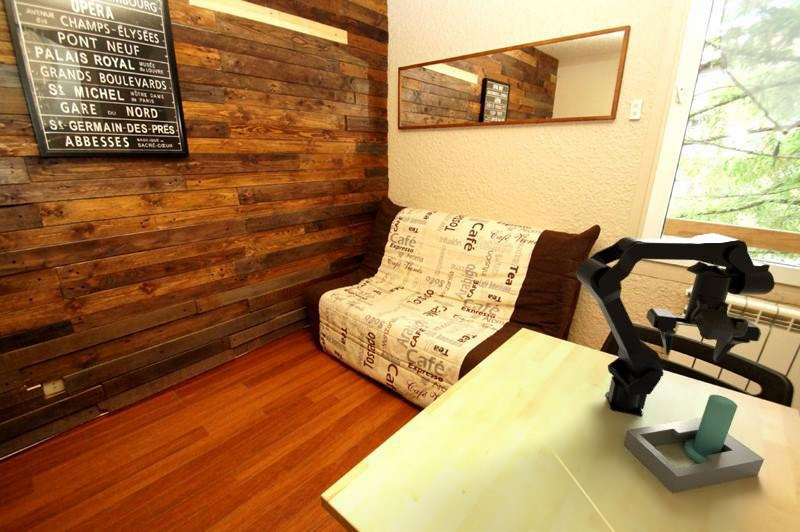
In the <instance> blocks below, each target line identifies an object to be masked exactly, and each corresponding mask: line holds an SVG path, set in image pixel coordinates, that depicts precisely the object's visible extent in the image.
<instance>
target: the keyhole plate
mask: <svg viewBox="0 0 800 532" xmlns="http://www.w3.org/2000/svg"><path fill="white" fill-rule="evenodd" d="M701 419H702V416H701V417H697V418H689V419H685V420H684V419H683V420H678V421H673V422H667V423H660V424H653V425H649V426H643V427H637V428H631V429H627V430H626V434H625V438H624V442H623V446H624V447H625V448H626V449H628V451H629V452H630V453H631V454H632V455H633V456H634V457H636V458H637V459H638V460H639V462H640V463H641V464H643V466H645V467H646V468H647V470H648V471H649V472H651V474H652V475H654V476H655V478H657V480H659V481H660V482H661V483H662V485H664V486H665V487H666V488H667V489H668V491H670V492H671V493H672V494H675V493H679V492H684V491H688V490H689V491H690V490H693V489H699V488H703V487H707V486H712V485H716V484H718V485H719V484H722V483H727V482H730V481H731V482H732V481H735V480H741V479H745V478H749V477H750V478H751V477H756V476H758V475H759V474H760V471H761V468H762V466H763V463H764V461H765V458H763V457H762V456H761V455H759V454H757V452H755V451H754V450H752V449H751V448H750V447H748V446H746V445H745V444H744V443H743V442H741V441H740V440H738V439H737V438H735V437H734V436H732V435H730V434H729V433H728V434H727V437H726V439H725V442H724V445H723V447H722V450H721V451H722V453H717V454H712V455H707V457H706V460H707V461H708V462H705V463H700V464H698V463H695V464H691V465H685V466H680V467H676V466H675V464H673V463H672V462H671V461H670V460H669V459H667V457H665V456H664V454H662V453H661V451H659V450H657V448H655V447H656V446H663V445H667V444H674V443H679V442H684V441H685V442H686V440H688V439H695V437H696V434H697V431H698V428H699V425H700V422H701Z"/></svg>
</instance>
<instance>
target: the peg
mask: <svg viewBox="0 0 800 532" xmlns="http://www.w3.org/2000/svg"><path fill="white" fill-rule="evenodd" d="M706 401H707V402H706V404H705V407H704V410H703V414H702V416H701V417H702V419H701V422H700V425H699V428H698V431H697V434H696V437H695V439H688V440H685V442H684V446H683V452H684V453H685V454H686V457H688V458H689V459H691V461H693V462H695V464H700V463H705V462H708V461H707V460H706V457H707V455H712V454H717V453H722V451H721V450H722V447H723V445H724V442H725V439H726V437H727V434H729V430H730V428H731V426H732V424H733V419H734V418H735V414H736V413H737V408H738V405H737V403H736V402H735V401H733V400H731V398H728V397H726V396H723V395H719V394H710V395H709V396H708V399H707V400H706Z"/></svg>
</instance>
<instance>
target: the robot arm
mask: <svg viewBox="0 0 800 532" xmlns="http://www.w3.org/2000/svg"><path fill="white" fill-rule="evenodd" d="M642 260H661V261H662V260H666V261H667V260H670V261H671V260H672V261H673V260H674V261H697V262H696V263H695V264H692V265H690V266H688V267H687V268H686V271H687V272H689V273H692V274H693V275H694V274H695V278H694V282H693V285H692V289H691V291H688V293H687V297H688V298H689V300H688V303H687V305H686V306H687V307H686V308H683V312H682V313H683V314H684V316H682V315H674V313H672V312H671V310H670V309H666V308H665V309H664V308H656V307H652V308H649V310H647V312H646V313H647V314H646V319H647V320H648V322H649V323H650V325H651V326H652V328H655V329H657V330H658V331H659V332H660V337H661V341H662V345H663V349H664V353H665V355H669V354H670V351H671V348H672V343H673V337H674V336H675V334H676V333H677V332H676V331H675V330H674V329H676V328H677V326H686V327H695V328H697V329H698V332H699V335H700V337H702V338H703V339H704V340H708V341H709V340H710V341H711V340H713V341H716V343H715V346H714V350H713V356H712V359H713V361H714V362H715V363H716V362H717V363H718V362H719V361H720V360H721V359H722V358H723V357H724V356H725V355H726V354H727V353H728V352H730V350H731V349H733V348H734V347H735V346H737V345H741V344H749V343H750V342H759V340H760V339H761V337H762V331H761V329H760V328H759V326H757V325H756V324H754V323H753V322H752V321H750V320H749V319H747V318H744V317H734V316H731V315H730V316H729V315H728V311H729V310H728V309H729V307H728V306H729V304H728V303H727V302H726V301H727V297H728V293H729V294H731V295H734V296H735V295H744V296H745V295H748V296H749V295H751V296H752V295H753V296H754V295H767V294H769V293H771V292H772V291H773V290H774V288H775V285H776V283H775V277H774V275H773V274H772V272H771V271H770V269H769V268H770V264H768V263H765V262H761V261H759V262H758V261H757V262H755V261H754V262H753V260H752V258H751V255H750V253H749V252H748V245H747V243H746V241H744V240H741V239H738V238H734V237H731V236H726V235H724V234H723V235H722V234H719V233H707V234H701V235H695V236H694V237H691V238H686V239H685V238H684V239H683V238H646V237H645V238H642V237H641V238H639V237H637V238H636V237H635V238H634V237H631V236H626V237H622V238H620V239H619V240H617V241H616V242H615V243H613V244H612V245H610V246H607V247H605V248H602V249H600V250H599V251H597V252H594V254H593V255H591V256H590V257H589V258H587V259H585V260H582V261H581V262H580V264H579V265H578V266H577V269H576V270H575V276H576V278H577V280H578V281H580V283H581V284H582V286H583V287H584V288H585V289H586V290H587V291H588V292H589V294H591V296H592V297H593V298H594V299H595V301H596V302H597V305H598V306H599V309H600V311H601V312H602V315H603V316H604V319H605V320H606V323H607V325H608V327H609V329H610V330H611V333H612V334H613V337H614V339H615V341H616V342H617V345H618V351H617V355H618V358H616V359H614V360H613V361H612V362H610V363H609V364H608V365H607V371H608V373H609V374H610V375H612V376H611V380H610V385H609V390H608V391H606V392H605V396H606V399H607V402H608V405H609V409H610V410H611V411H614V412H619V413H623V414H629V415H635V416H640V417H643V415H644V414H643V413H644V412H643V411H642V410H644V407H645V405H646V400H647V396H648V395H651V393H652V392H653V391H654V389H655V388H656V386H657V385H658V384H659V383H660V381H661V378H662V377H663V376H664V369H665V368H666V366H665V365H664V364H662V361H661V357H660V355H659V353H658V352H657V351H656V350H655V349H653V348H652V347H651V346H649V345H648V344H647V343H645V341H644V340H642V339H640V337H639V335H638V332H637V330H636V328H635V327H634V324H633V322H632V320H631V318H630V315H629V314H628V311H627V309H626V307H625V305H624V303H623V300H622V298H621V292H622V283H621V282H622V281H624V280H625V279H627V277H629V276H630V274H631V272H632V271H633V269H634V267H635V266H636V264H637V263H639V262H640V261H642ZM615 261H617V262H616V263H615V264H614V265H612V266H610V265H608V264H610V263H614V262H615ZM709 264H710V265H709Z"/></svg>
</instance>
